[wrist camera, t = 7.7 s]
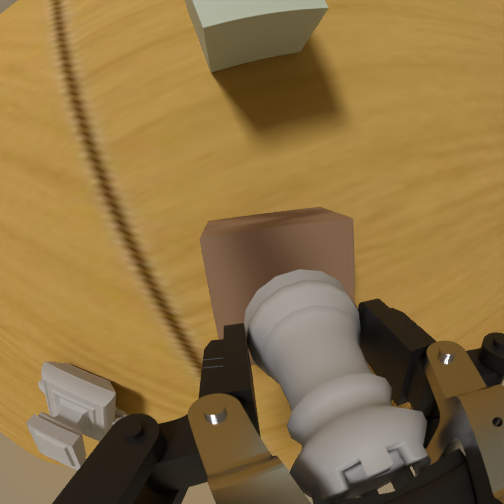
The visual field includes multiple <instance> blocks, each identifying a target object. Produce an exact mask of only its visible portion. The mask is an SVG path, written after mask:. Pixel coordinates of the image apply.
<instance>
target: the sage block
mask: <svg viewBox="0 0 504 504" xmlns="http://www.w3.org/2000/svg"><path fill="white" fill-rule="evenodd" d="M185 2H186V6H187V10H188V12H189V15H190V17H191V20H192V23H193V25H194V28H195V31H196V33H197V36H198V39H199V42H200V44H201V47H202V50H203V52H204V55H205V58H206V61H207V63H208V66H209V69H210V72H211V73H212V72H215V71H218V70H222V69H225V68H229V67H232V66H236V65H240V64H244V63H248V62H252V61H256V60H260V59H265V58H270V57H275V56H280V55H285V54H291V53H297V52H301V50H302V49H303V47H304V46H305V44H306V42H307V41H308V39H309V38H310V36H311V34H312V33H313V31H314V30H315V28H316V27H317V25H318V24H319V22H320V20H321V19H322V17H323V16H324V14H325V13H326V11H327V10H328V8H329V7H328V5H327V4H326V2H325V0H185Z"/></svg>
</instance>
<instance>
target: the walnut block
mask: <svg viewBox="0 0 504 504" xmlns="http://www.w3.org/2000/svg"><path fill="white" fill-rule="evenodd" d="M200 243H201V249H202V255H203V261H204V266H205V272H206V277H207V282H208V288H209V293H210V298H211V303H212V308H213V313H214V318H215V323H216V328H217V332H218V337H219V340H220V339H223V337H224V325H231V324H239V323H244V318H245V310H246V308H247V307H248V305H249V303H250V302H251V300H252V298H253V297H254V295H255V293H256V292H257V290H259V289H260V288H261V287H263V286H264V285H265V284H267V283H268V282H269V281H271V280H272V279H273V278H275V277H276V276H279V275H282V274H285V273H289V272H292V271H295V270H299V269H301V270H313V271H322V272H324V273H326V274H328V275H329V276H331V277H333V278H335V279H337V280H338V281H340V283H341V284H342V286H343V287H344V289H345V290H346V291H347V292H348V294H349V295H350V297H351V298H352V300H353V301H354V234H353V218H350V217H347V216H345V215H342V214H339V213H336V212H333V211H330V210H327V209H324V208H322V207H316V208H307V209H298V210H290V211H282V212H274V213H266V214H258V215H251V216H243V217H236V218H229V219H222V220H215V221H208V223H207V225H206V227H205V229H204V231H203V233H202V235H201V237H200ZM248 350H249V348H248ZM249 357H250V363H251V365H253V364H256V363H255V362H254V361H253V359H252V356H251V354H250V351H249Z"/></svg>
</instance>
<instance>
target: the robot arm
mask: <svg viewBox="0 0 504 504" xmlns="http://www.w3.org/2000/svg"><path fill="white" fill-rule="evenodd" d="M358 312H359V320H360V329H361V331H360V345H359V346H360V348H361V350H362V353H363V355H364V357H365V360H366V361H367V363H368V364H369V365H370V367H371V368H372V370H373V371H374V373H375V374H376V375H377V376H380V377H383V378H385V379H386V380H387V382H388V383H389V385H390V386H391V387H392V399H393V400H394V402H395V403H396V405H397V406H398V405H401V404H404V403H406V402H410V404H411V407H410V410H416V411H421V412H422V413H423V414H424V416H425V418H426V420H427V427H426V433H425V438H424V443H423V447H424V449H425V450H426V452H427V453H428V455H429V457H430V458H431V460H432V461H431V463H430V465H429V466H428V467H427V468H425V469H424V470H423V471H422V472H421V473H419V474H416V473H415V477H414V478H413V479H412V480H410V481H409V482H408V483H406V484H405V485H404V486H402V487H401V488H400V489H398V490H396V491H394V492H390V493H385V494H379V495H373V496H366V497H358V498H349V499H345V500H342V501H338V502H334V503H331V504H504V386H503V385H501V384H502V382H503V380H504V334H503V333H490V334H488V335H486V336H485V337H484V339H483V342H482V346H481V348H479V349H474V350H468V351H465V349H464V348H463V347H462V346H460V345H459V344H457V343H455V342H451V341H438V342H436V341H435V340H434V339H433V338H432V337H431V336H430V335H428V334H427V333H426V332H425V331H424V330H423V329H422V328H421V327H419V326H417V324H416V323H415V322H414V321H413V320H411V319H410V318H409V317H408V316H407V315H406V314H404V313H403V312H401V311H399V310H396V309H394V308H389V307H388V306H387V305H386V304H385V303H383V302H382V301H381V300H380V299H374V300H369V301H365V302H361V303H360V304H359V306H358ZM205 482H208V484H209V487H210V490H211V492H212V495H213V498H214V500H215V502H216V504H311V503H310V501H309V500H308V499H307V497H306V496H305V494H304V493H303V492H302V490H301V489H300V487H299V486H298V485H297V483H296V482H295V480H294V479H293V477H292V476H291V474H290V473H289V471H288V470H287V468H286V467H285V466H284V464H283V463H282V461H281V460H280V459H279V458H278V457H277V456H272V455H271V454H270V453H269V451H268V450H267V448H266V446H265V445H264V443H263V441H262V440H261V437H260V430H259V422H258V415H257V408H256V400H255V393H254V385H253V377H252V370H251V363H250V357H249V350H248V345H247V338H246V332H245V326H244V323H239V324H231V325H224V337H223V339H220V340H212V341H210V343H209V344H208V345H207V346H206V348H205V349H204V356H203V364H202V373H201V382H200V391H199V399H198V400H196V401H195V402H194V403H193V404H192V405H191V406H190V408H189V411H188V414H187V415H186V416H184V417H182V418H179V419H176V420H173V421H169V422H165V423H161V424H158V423H157V422H156V420H155V419H153V418H152V417H150V416H148V415H145V414H131V415H128V416H125V417H123V418H121V419H119V420H118V421H117V422H115V424H114V425H113V426H112V427H111V428H110V430H109V431H108V432H107V434H106V435H105V436H104V437H103V439H102V440H101V441H100V443H99V444H98V445H97V446H96V448H95V449H94V450H93V452H92V453H91V454H90V455H89V457H88V458H87V459H86V461H85V462H84V463H83V464H82V466H81V467H80V468H79V470H78V471H77V472H76V474H75V475H74V476H73V477H72V479H71V480H70V481H69V483H68V484H67V485H66V486H65V488H64V489H63V490H62V492H61V493H60V494H59V496H58V497H57V498H56V499H55V501H54V502H53V503H52V504H181V503H182V501H183V498H184V496H185V494H186V492H187V490H188V488H189V487H190V486H194V485H198V484H201V483H205Z"/></svg>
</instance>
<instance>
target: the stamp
mask: <svg viewBox="0 0 504 504" xmlns="http://www.w3.org/2000/svg"><path fill="white" fill-rule="evenodd" d="M41 374H42V379H41V380H40V381H39V382H38V384H39V388H40V390H41V391H42V392H44V394H45V395H46V400H47V404H48V409H49V413H50V415H48V414H46V413H44V412H42V413H40V414H39V416H37V415H35V414H34V415H33V416H32V417H31V418H30V419H29V420H28V421H27V422H26V424H27V426H28V428H29V431H30V433H31V435H32V437H33V439H34V441H35V443H36V445H37V447H38V449H39V451H40V453H42V454H44V455H46V456H48V457H50V458H52V459H54V460H56V461H58V462H60V463H62V464H65V465H67V466H69V467H71V468H74V469H76V470H79V468H80V467H81V466H82V464H83V463H84V462H85V461H86V458H85V457H86V452H85V447H84V442H83V437H82V434H84V435H86V436H88V437H91V438H93V439H96V440H98V441H101V440H102V439H103V437H104V436H105V435H106V434H107V432H108V431H109V430H110V428H111V427H112V426H113V425H114V424H115V422H117V421H118V420H119V419H121V418H123V417H125V416H128V414H127V413H126V412H125V411H123V410H121V409H119V408H117V407H116V392H115V390H114V388H113V386H112V385H111V382H110V381H109V380H106V379H103V378H101V377H98V376H96V375H93V374H91V373H89V372H86V371H84V370H82V369H79V368H77V367H75V366H73V365H70V364H68V363H57V362H46V361H45V362H44V364H43V366H42V371H41ZM115 414H116V415H118V416H119V417H115Z"/></svg>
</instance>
